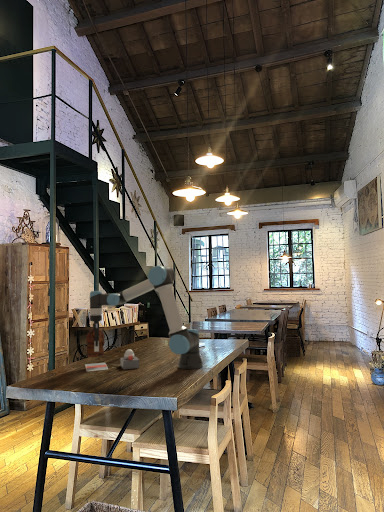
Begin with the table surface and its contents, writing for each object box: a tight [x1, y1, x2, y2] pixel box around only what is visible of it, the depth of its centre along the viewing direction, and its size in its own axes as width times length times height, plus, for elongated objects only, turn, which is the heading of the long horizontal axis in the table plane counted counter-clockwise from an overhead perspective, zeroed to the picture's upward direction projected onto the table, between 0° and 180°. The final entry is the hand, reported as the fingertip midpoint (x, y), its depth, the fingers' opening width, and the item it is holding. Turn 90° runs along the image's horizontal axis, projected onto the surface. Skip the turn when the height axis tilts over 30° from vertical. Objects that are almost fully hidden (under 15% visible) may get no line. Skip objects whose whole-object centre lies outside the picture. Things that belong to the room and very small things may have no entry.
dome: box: [123, 348, 135, 359], centre depth 241 cm, size 6×6×5 cm
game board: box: [84, 362, 109, 372], centre depth 241 cm, size 22×13×1 cm, turn 18°
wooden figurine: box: [85, 327, 105, 358], centre depth 242 cm, size 12×6×18 cm, turn 148°
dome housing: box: [120, 356, 140, 370], centre depth 239 cm, size 12×10×7 cm
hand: (96, 350), depth 242 cm, fingers closed on wooden figurine, 9 cm apart
